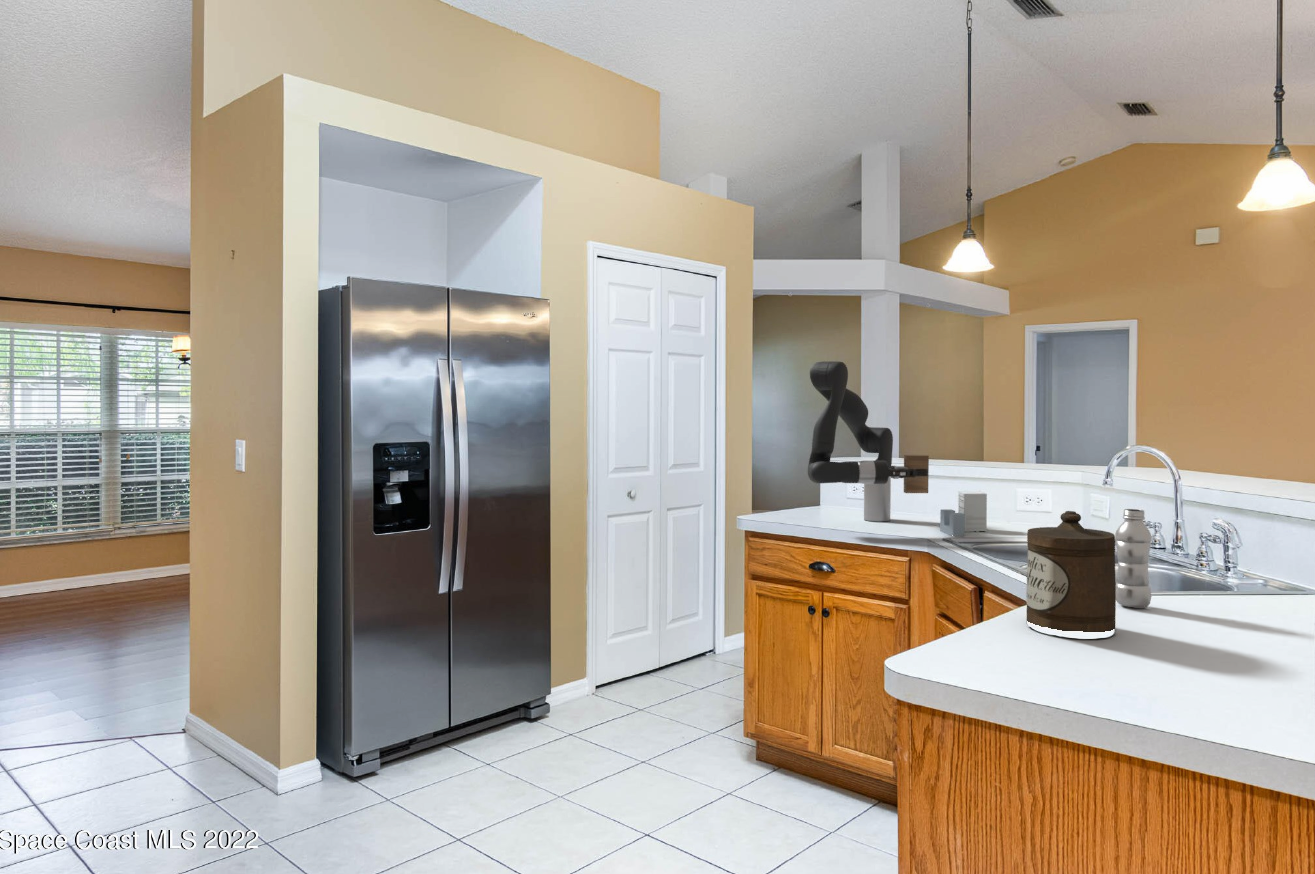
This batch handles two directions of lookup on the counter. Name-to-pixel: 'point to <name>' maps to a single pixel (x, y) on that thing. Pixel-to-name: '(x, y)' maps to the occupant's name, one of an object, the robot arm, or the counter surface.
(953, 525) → the slotted base
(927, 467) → the walnut plate
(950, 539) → the counter surface
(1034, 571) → the wooden container
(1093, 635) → the counter surface
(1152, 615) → the counter surface
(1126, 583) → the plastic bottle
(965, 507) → the supplement box
